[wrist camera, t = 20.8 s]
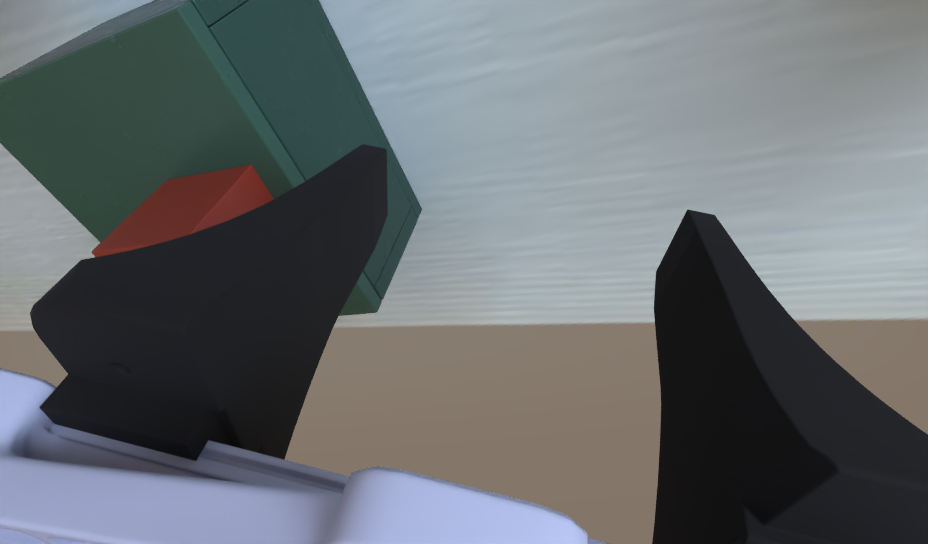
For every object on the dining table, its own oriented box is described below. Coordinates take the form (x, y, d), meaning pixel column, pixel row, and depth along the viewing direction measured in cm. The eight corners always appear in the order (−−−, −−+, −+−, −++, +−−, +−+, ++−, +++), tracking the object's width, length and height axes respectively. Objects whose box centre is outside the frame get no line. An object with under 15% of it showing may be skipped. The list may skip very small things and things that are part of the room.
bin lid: (195, 318, 27) (187, 329, 27) (-27, 91, 20) (-44, 100, 19) (382, 301, 23) (377, 313, 22) (191, -1, 15) (177, 7, 15)
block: (228, 259, 22) (171, 334, 19) (166, 179, 20) (90, 251, 17) (308, 251, 21) (259, 330, 18) (252, 163, 18) (183, 240, 15)
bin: (263, 237, 31) (203, 318, 27) (102, 23, 24) (-18, 87, 19) (422, 209, 27) (383, 300, 23) (290, -60, 20) (192, -2, 15)
